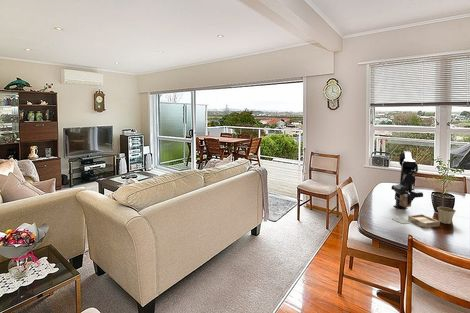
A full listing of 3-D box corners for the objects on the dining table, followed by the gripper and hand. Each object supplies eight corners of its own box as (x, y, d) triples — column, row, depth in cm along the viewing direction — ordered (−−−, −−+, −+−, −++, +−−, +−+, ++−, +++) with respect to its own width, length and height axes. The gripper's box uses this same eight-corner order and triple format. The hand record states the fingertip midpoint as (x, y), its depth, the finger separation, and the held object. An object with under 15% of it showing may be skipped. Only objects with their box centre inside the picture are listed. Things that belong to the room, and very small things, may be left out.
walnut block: (399, 204, 171) (400, 194, 170) (404, 204, 172) (406, 194, 171) (405, 207, 167) (406, 196, 166) (410, 206, 168) (412, 196, 167)
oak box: (408, 220, 173) (408, 215, 172) (421, 218, 175) (422, 214, 174) (424, 228, 161) (425, 223, 161) (439, 226, 163) (439, 221, 163)
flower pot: (435, 217, 176) (437, 205, 174) (454, 221, 170) (455, 208, 168) (435, 222, 168) (436, 209, 167) (454, 226, 163) (456, 213, 161)
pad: (392, 219, 175) (392, 218, 175) (402, 217, 176) (402, 217, 176) (402, 224, 167) (402, 223, 167) (412, 222, 169) (412, 222, 169)
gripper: (385, 177, 174) (383, 200, 176) (410, 185, 156) (407, 210, 159) (399, 176, 176) (397, 198, 179) (425, 183, 158) (422, 208, 161)
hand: (405, 203), depth 169 cm, fingers closed on walnut block, 4 cm apart
